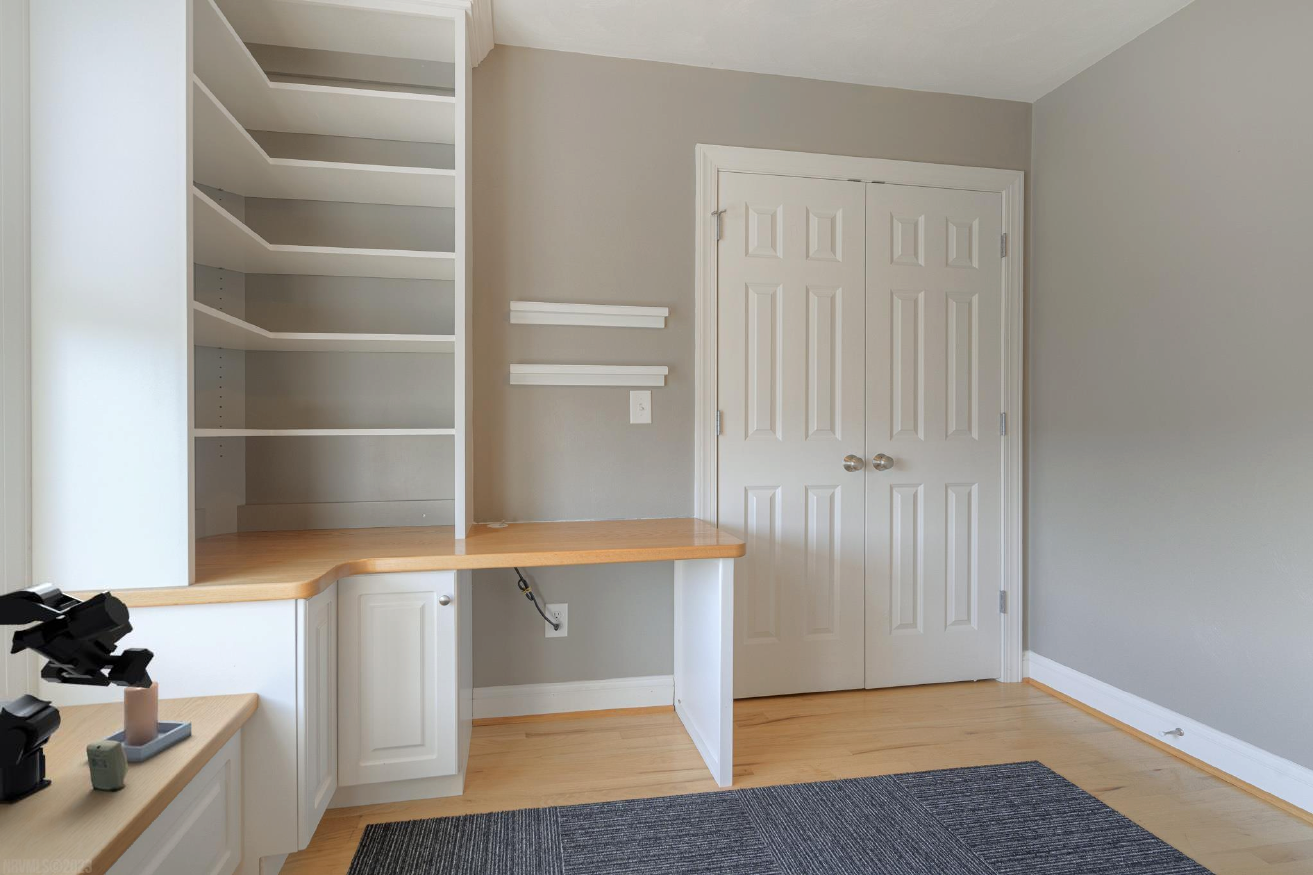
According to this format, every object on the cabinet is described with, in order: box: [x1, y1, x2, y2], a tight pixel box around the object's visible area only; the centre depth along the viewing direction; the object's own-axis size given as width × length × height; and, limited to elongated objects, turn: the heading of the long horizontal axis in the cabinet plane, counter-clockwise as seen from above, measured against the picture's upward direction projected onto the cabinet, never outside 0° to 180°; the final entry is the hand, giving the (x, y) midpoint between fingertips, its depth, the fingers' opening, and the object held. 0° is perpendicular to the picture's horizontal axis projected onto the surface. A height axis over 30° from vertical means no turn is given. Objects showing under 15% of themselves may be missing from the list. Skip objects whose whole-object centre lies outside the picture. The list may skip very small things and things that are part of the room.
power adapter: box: [86, 740, 129, 792], centre depth 110 cm, size 6×5×8 cm
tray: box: [98, 720, 192, 763], centre depth 125 cm, size 11×11×2 cm
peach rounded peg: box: [123, 681, 159, 746], centre depth 125 cm, size 5×5×11 cm
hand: (129, 684), depth 123 cm, fingers open, 9 cm apart
